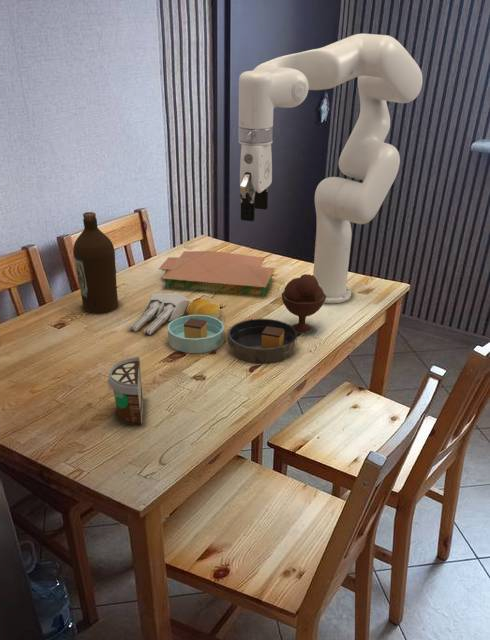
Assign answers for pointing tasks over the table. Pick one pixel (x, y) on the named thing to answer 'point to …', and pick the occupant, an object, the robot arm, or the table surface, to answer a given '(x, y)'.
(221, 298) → the table surface
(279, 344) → the snack cake
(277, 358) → the charcoal bowl
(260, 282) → the house
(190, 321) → the snack cake
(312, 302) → the ice cream bowl
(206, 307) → the bread roll
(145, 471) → the table surface
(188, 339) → the blue bowl
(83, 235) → the olive oil
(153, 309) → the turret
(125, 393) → the food container
